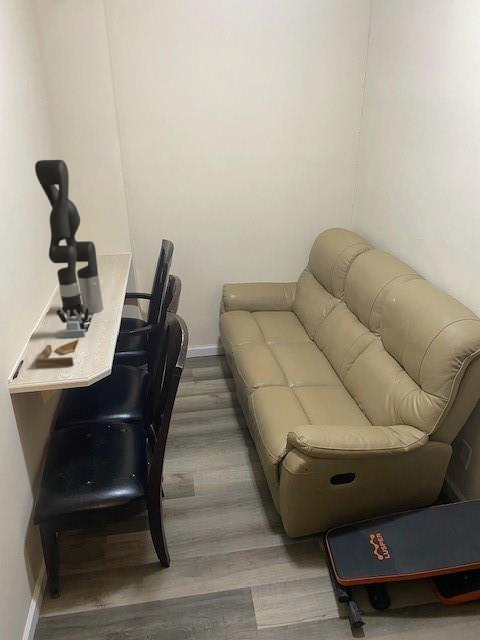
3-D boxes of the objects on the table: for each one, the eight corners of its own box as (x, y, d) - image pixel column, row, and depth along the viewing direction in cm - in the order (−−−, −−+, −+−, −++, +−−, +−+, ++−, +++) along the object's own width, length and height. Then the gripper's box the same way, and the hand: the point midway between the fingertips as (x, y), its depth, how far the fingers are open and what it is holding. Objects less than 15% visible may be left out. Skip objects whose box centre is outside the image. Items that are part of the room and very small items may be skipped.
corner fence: (48, 352, 185) (46, 345, 183) (81, 350, 185) (80, 343, 184) (37, 367, 173) (35, 360, 171) (72, 366, 173) (71, 358, 172)
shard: (79, 342, 193) (78, 338, 193) (89, 347, 189) (89, 343, 188) (55, 351, 186) (54, 347, 185) (65, 357, 181) (64, 353, 180)
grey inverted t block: (69, 328, 205) (66, 316, 203) (90, 327, 205) (87, 315, 203) (62, 338, 196) (60, 325, 194) (84, 337, 196) (82, 324, 194)
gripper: (89, 289, 198) (95, 326, 205) (55, 290, 198) (62, 328, 204) (85, 295, 191) (91, 333, 198) (49, 296, 191) (57, 335, 197)
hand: (76, 330), depth 201 cm, fingers closed on grey inverted t block, 4 cm apart
